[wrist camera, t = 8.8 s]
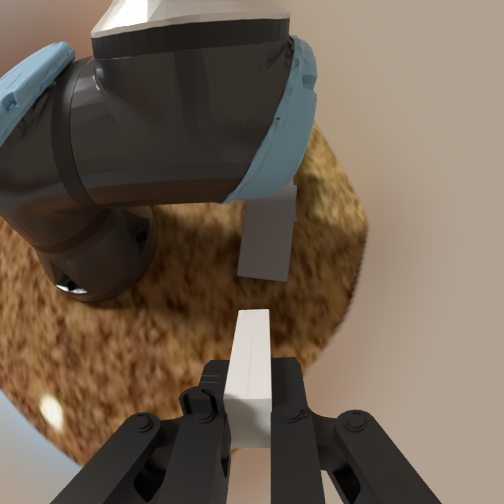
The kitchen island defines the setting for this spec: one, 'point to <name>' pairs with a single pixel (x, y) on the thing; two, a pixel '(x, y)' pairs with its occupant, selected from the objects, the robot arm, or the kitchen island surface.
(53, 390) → the kitchen island surface
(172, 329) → the kitchen island surface
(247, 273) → the domino
